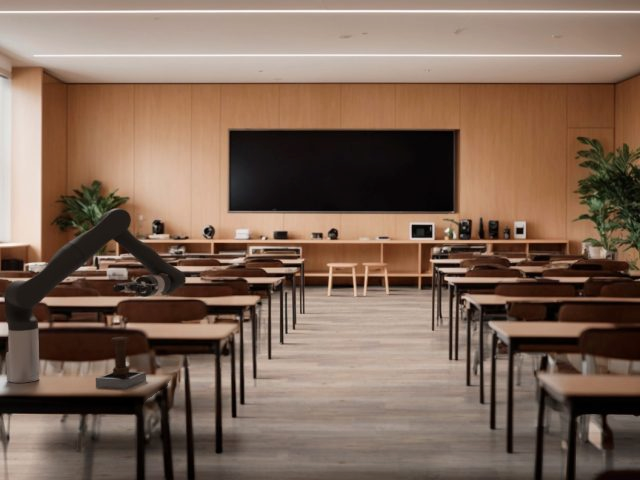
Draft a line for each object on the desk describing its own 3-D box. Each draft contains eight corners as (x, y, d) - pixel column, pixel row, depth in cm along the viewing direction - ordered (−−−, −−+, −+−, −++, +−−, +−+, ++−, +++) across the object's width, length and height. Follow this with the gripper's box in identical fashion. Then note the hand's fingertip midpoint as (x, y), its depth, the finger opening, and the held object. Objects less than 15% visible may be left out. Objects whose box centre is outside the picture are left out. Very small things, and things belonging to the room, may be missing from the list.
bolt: (124, 386, 225) (123, 339, 225) (109, 385, 226) (108, 339, 226) (132, 382, 231) (131, 336, 230) (118, 381, 232) (117, 336, 231)
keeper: (95, 387, 224) (95, 377, 224) (115, 379, 235) (115, 370, 235) (127, 389, 221) (127, 379, 221) (146, 381, 232) (145, 372, 232)
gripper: (132, 274, 257) (106, 278, 241) (167, 275, 253) (143, 278, 237) (132, 295, 257) (107, 299, 242) (167, 296, 253) (144, 301, 238)
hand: (125, 289), depth 239 cm, fingers open, 8 cm apart
